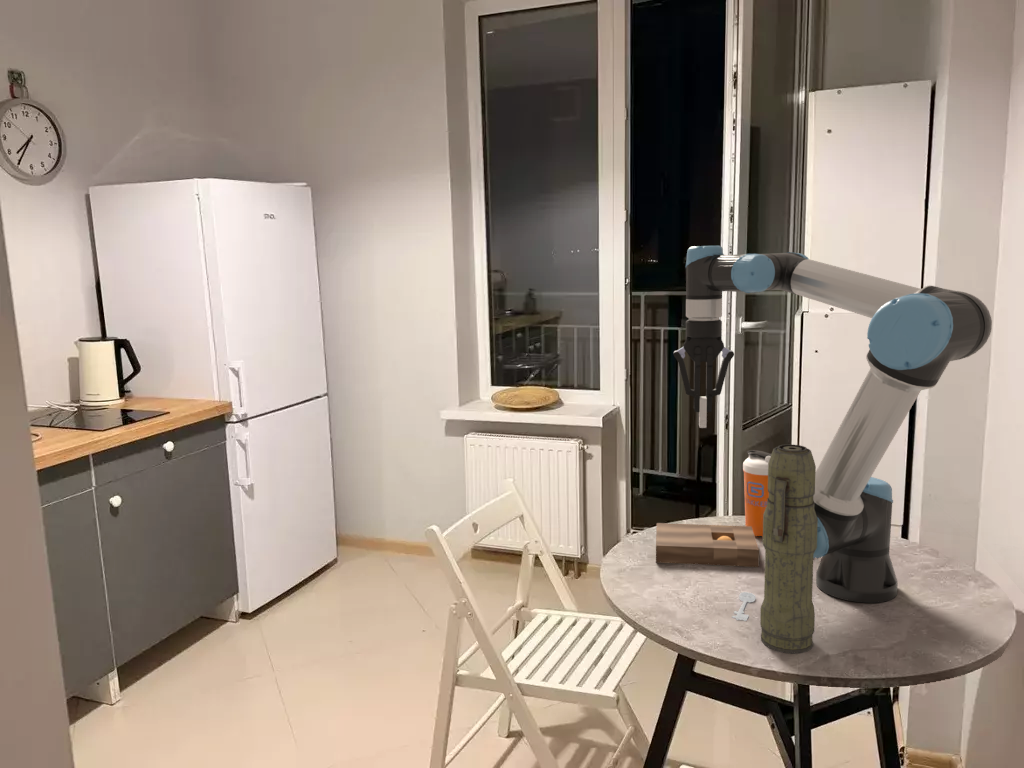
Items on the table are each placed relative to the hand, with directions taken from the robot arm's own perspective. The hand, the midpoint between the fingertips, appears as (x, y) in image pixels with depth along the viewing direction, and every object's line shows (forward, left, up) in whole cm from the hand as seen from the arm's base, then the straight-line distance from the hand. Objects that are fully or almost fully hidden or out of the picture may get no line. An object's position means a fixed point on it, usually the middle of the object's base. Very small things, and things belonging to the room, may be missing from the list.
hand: (702, 426), depth 172 cm
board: (+4, -1, -30) cm, 31 cm away
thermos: (-37, -13, -31) cm, 50 cm away
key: (-24, -7, -31) cm, 40 cm away
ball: (+4, -5, -28) cm, 29 cm away
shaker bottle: (+19, -15, -31) cm, 39 cm away
